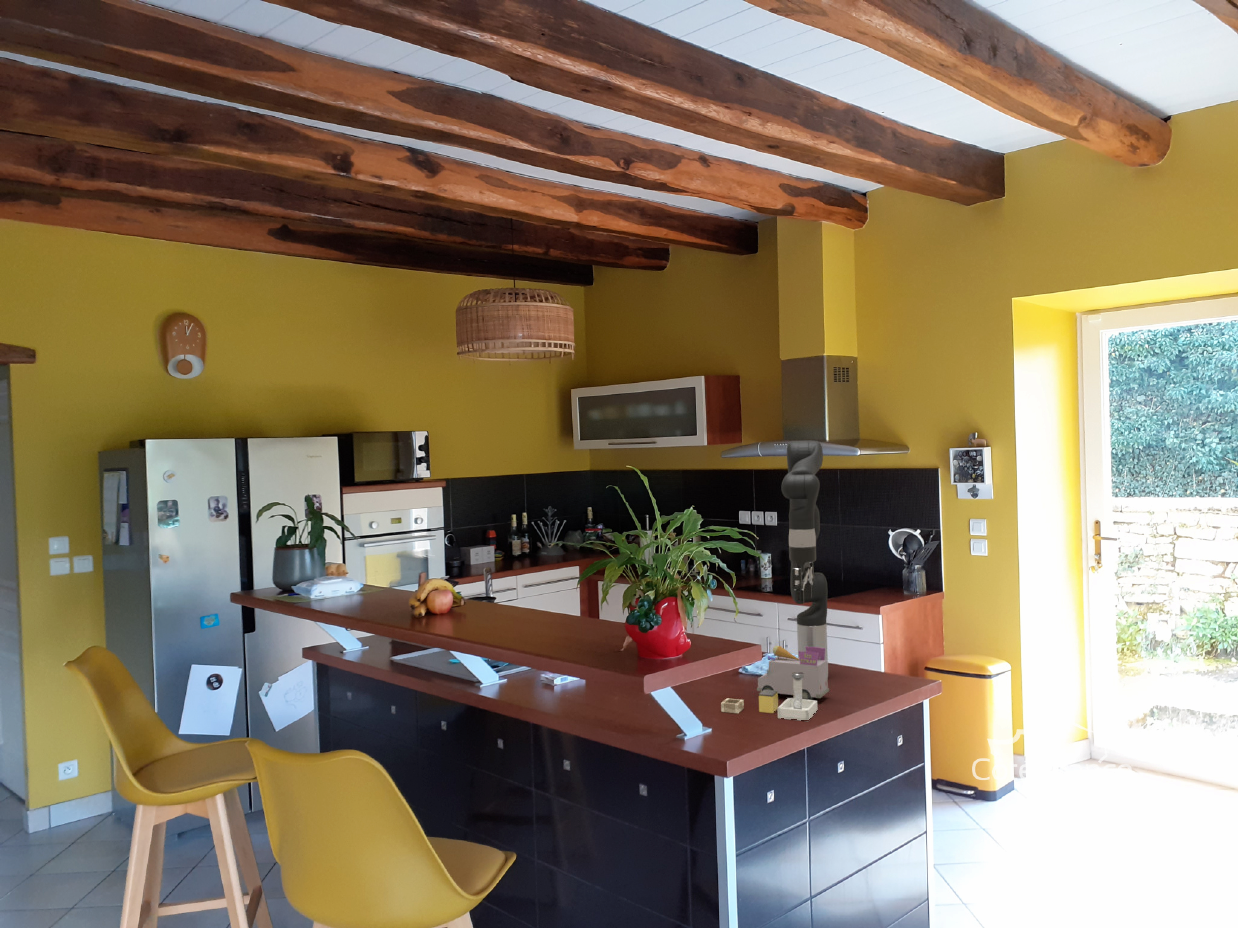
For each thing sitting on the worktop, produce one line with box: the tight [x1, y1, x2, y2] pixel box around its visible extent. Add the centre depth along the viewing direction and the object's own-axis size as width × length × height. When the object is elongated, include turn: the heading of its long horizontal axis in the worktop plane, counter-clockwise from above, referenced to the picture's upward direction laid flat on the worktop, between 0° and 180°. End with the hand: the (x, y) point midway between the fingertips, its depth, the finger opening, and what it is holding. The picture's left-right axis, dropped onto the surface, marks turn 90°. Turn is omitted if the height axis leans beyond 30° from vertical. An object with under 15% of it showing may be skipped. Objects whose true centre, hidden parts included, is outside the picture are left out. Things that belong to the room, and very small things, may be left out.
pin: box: [791, 672, 804, 710], centre depth 257 cm, size 3×3×11 cm
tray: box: [777, 697, 819, 721], centre depth 257 cm, size 10×8×3 cm
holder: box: [720, 698, 745, 714], centre depth 263 cm, size 5×5×2 cm
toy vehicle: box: [756, 645, 830, 700], centre depth 274 cm, size 9×20×15 cm, turn 59°
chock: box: [758, 690, 779, 714], centre depth 262 cm, size 5×4×5 cm
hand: (804, 600), depth 265 cm, fingers open, 8 cm apart
